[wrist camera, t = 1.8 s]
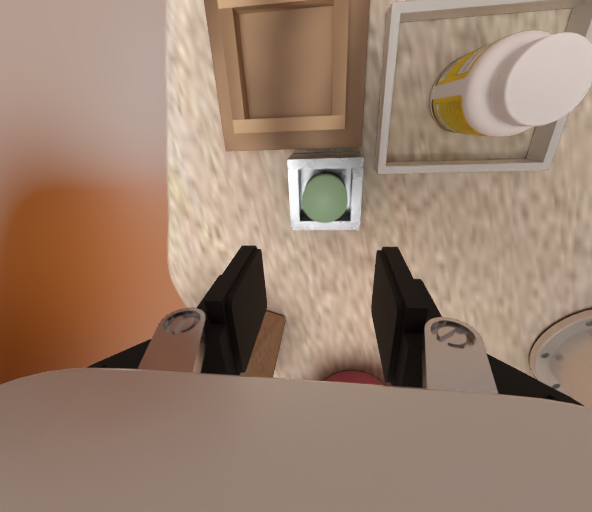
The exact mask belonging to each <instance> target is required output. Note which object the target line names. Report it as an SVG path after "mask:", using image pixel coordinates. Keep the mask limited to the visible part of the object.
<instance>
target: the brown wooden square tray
mask: <svg viewBox="0 0 592 512" xmlns="http://www.w3.org/2000/svg"><path fill="white" fill-rule="evenodd" d="M204 4H205V11H206V18H207V25H208V32H209V39H210V46H211V52H212V59H213V66H214V73H215V80H216V87H217V94H218V101H219V108H220V115H221V122H222V129H223V136H224V142H225V149H226V151H249V150H280V149H311V148H341V147H361V142H362V125H363V107H364V90H365V73H366V56H367V39H368V21H369V4H370V0H204Z"/></svg>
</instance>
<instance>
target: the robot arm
mask: <svg viewBox="0 0 592 512" xmlns="http://www.w3.org/2000/svg"><path fill="white" fill-rule="evenodd" d="M266 309H267V298H266V289H265V280H264V270H263V261H262V252H261V249H257V247H256V246H241V248H240V249H239V251H238V252H237V254H236V255H235V257H234V258H233V259H232V261H231V262H230V264H229V265H228V267H227V268H226V270H225V271H224V273H223V274H222V275H220V276H219V277H218V278H217V280H216V281H215V282H214V284H213V285H212V287H211V288H210V290H209V291H208V292H207V294H206V295H205V297H204V298H203V300H202V301H201V302H200V304H199V305H198V307H197V308H184V309H179V310H176V311H174V312H172V313H170V314H168V315H166V316H165V317H164V318H163V319H162V320H161V321H160V323H159V324H158V326H157V328H156V330H155V332H154V335H153V337H152V339H150V340H147V341H145V342H143V343H141V344H138V345H136V346H134V347H131V348H129V349H127V350H125V351H122V352H120V353H118V354H116V355H113V356H111V357H109V358H106V359H104V360H102V361H100V362H97V363H95V364H93V365H91V366H89V367H87V368H76V369H65V370H57V371H50V372H44V373H40V374H36V375H31V376H27V377H23V378H19V379H16V380H13V381H10V382H7V383H5V384H2V385H0V512H592V309H591V310H587V311H583V312H580V313H577V314H575V315H572V316H570V317H568V318H566V319H564V320H561V321H560V322H558V323H557V324H555V325H553V326H552V327H550V328H549V329H548V330H547V331H546V332H545V333H543V334H542V335H541V337H540V338H539V339H538V340H537V341H536V343H535V344H534V346H533V348H532V350H531V354H530V358H529V360H530V367H531V370H532V372H533V374H534V375H535V376H536V378H537V379H538V380H539V381H538V380H537V379H535V378H533V377H531V376H529V375H527V374H525V373H523V372H521V371H519V370H517V369H515V368H513V367H511V366H510V365H508V364H506V363H504V362H502V361H500V360H498V359H496V358H494V357H492V356H490V355H488V354H486V350H485V347H484V344H483V340H482V338H481V336H480V334H479V333H478V332H477V331H476V330H475V329H474V328H473V327H471V326H470V325H468V324H466V323H464V322H462V321H460V320H456V319H453V318H447V317H442V316H441V314H440V312H439V311H438V309H437V307H436V305H435V303H434V301H433V300H432V298H431V296H430V294H429V292H428V290H427V289H426V287H425V285H424V283H423V281H422V280H421V279H413V277H412V275H411V273H410V271H409V269H408V267H407V265H406V263H405V261H404V259H403V257H402V255H401V253H400V251H399V249H398V247H383V248H382V250H377V254H376V264H375V274H374V285H373V295H372V306H371V312H372V318H373V323H374V328H375V333H376V338H377V343H378V348H379V353H380V358H381V363H382V368H383V373H384V378H385V381H386V382H391V385H392V386H387V385H373V384H359V383H345V382H331V381H316V380H301V379H286V378H271V377H256V376H240V373H245V372H246V369H247V366H248V363H249V360H250V357H251V354H252V351H253V348H254V345H255V342H256V339H257V336H258V333H259V330H260V328H261V325H262V322H263V319H264V316H265V313H266ZM565 394H566V395H565ZM567 395H570V396H571V397H572V398H571V397H569V396H567Z"/></svg>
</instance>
